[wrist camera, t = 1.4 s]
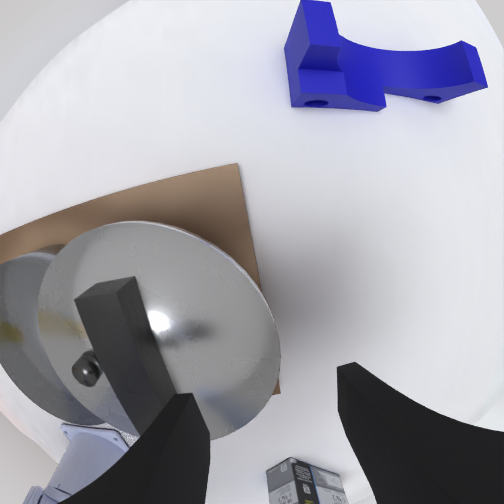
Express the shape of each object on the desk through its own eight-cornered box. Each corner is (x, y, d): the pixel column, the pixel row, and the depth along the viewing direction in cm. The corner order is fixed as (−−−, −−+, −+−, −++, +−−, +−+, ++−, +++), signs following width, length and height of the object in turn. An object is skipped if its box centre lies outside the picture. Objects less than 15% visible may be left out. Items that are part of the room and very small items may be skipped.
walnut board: (279, 385, 20) (280, 393, 19) (42, 394, 20) (38, 399, 19) (237, 164, 16) (237, 163, 15) (-18, 244, 16) (-24, 246, 15)
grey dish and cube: (248, 378, 18) (251, 423, 14) (53, 386, 18) (31, 415, 14) (209, 204, 16) (197, 209, 11) (2, 260, 16) (-34, 275, 11)
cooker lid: (292, 421, 14) (300, 457, 11) (101, 431, 14) (87, 460, 11) (251, 191, 11) (255, 191, 8) (19, 251, 11) (-15, 264, 8)
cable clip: (291, 108, 16) (314, 71, 10) (283, 49, 15) (301, -1, 9) (440, 121, 16) (492, 109, 10) (429, 70, 15) (475, 47, 9)
